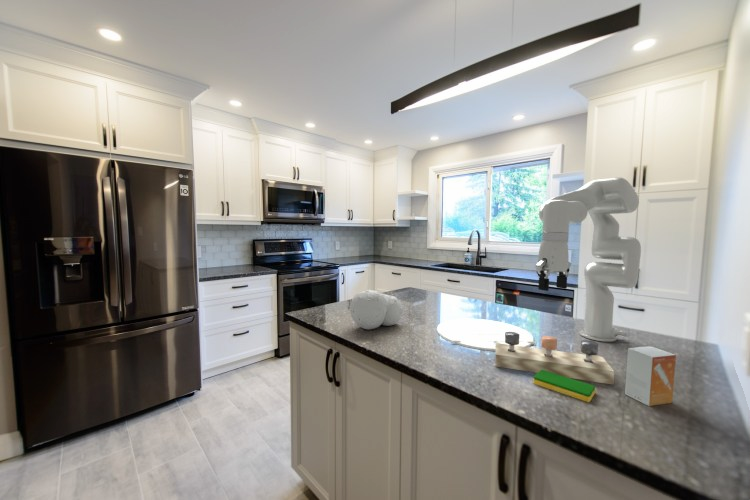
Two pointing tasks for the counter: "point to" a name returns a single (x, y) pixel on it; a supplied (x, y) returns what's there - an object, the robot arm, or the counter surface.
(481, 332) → the lazy susan
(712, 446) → the counter surface
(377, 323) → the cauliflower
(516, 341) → the far knob
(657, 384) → the small box
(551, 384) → the dish sponge
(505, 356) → the knob mount
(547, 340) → the middle knob
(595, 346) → the near knob
